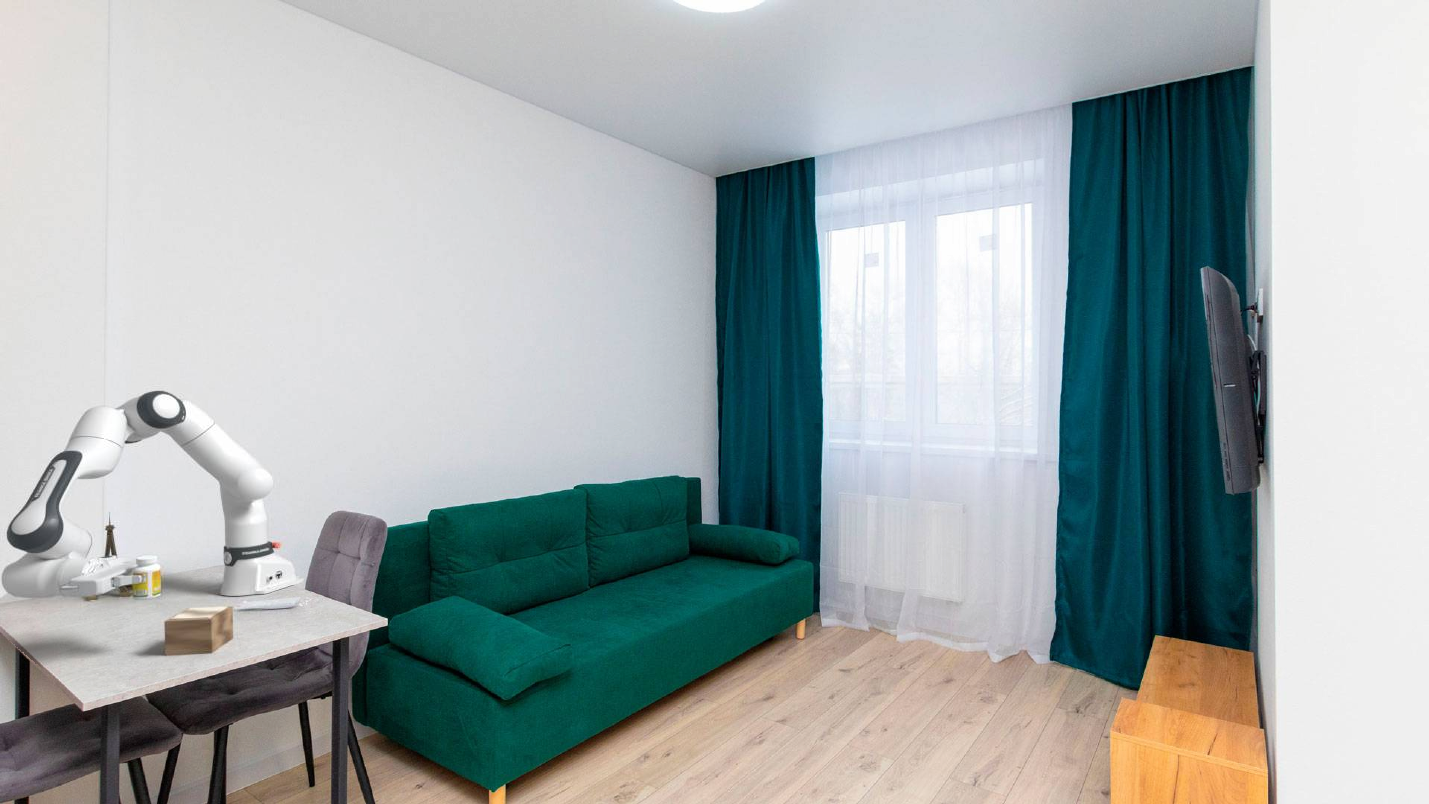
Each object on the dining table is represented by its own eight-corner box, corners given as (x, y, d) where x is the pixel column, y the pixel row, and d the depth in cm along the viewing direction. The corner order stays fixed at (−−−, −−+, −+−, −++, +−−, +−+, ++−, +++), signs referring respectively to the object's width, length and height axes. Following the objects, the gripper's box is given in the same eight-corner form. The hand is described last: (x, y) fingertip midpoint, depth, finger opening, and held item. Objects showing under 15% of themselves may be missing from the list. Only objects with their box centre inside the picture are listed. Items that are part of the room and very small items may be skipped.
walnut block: (189, 640, 181) (188, 607, 181) (233, 638, 183) (232, 605, 182) (165, 655, 171) (164, 620, 171) (211, 653, 173) (211, 618, 172)
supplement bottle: (135, 602, 171) (135, 561, 171) (130, 597, 175) (129, 557, 174) (164, 597, 175) (163, 557, 175) (157, 592, 179) (157, 553, 178)
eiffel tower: (84, 602, 213) (82, 516, 212) (93, 593, 222) (90, 510, 222) (130, 596, 218) (128, 513, 218) (136, 588, 227) (135, 507, 227)
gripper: (53, 575, 162) (122, 573, 164) (114, 553, 183) (175, 552, 185) (53, 603, 163) (122, 601, 165) (114, 579, 183) (175, 576, 185)
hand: (151, 575), depth 175 cm, fingers closed on supplement bottle, 5 cm apart
